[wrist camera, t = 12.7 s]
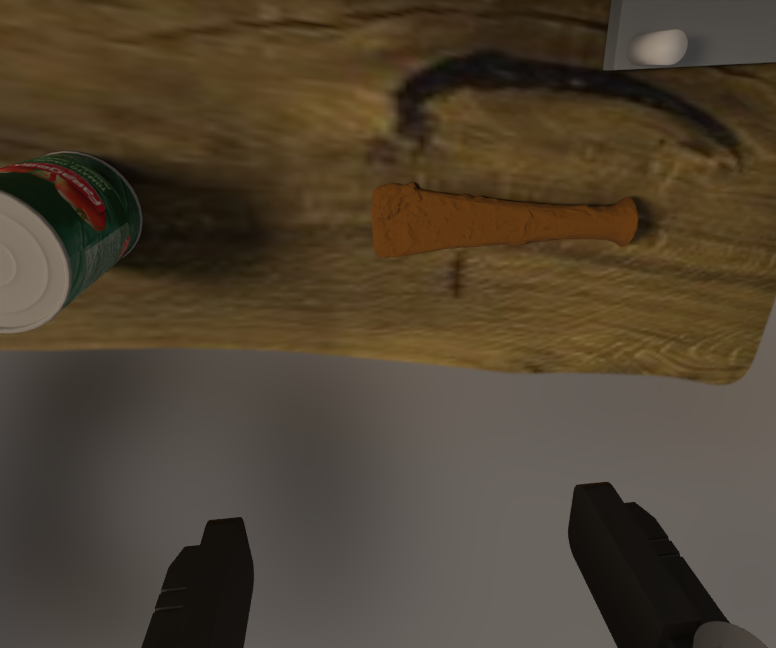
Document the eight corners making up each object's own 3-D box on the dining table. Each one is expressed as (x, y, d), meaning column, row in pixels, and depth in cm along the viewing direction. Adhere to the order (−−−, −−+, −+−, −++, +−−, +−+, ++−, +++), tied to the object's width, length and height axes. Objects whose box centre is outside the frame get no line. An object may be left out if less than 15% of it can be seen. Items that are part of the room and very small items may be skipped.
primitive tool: (374, 256, 39) (377, 271, 36) (369, 182, 37) (373, 191, 34) (619, 239, 41) (643, 253, 37) (630, 167, 38) (656, 174, 35)
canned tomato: (131, 151, 34) (48, 183, 25) (152, 264, 38) (86, 332, 28) (3, 150, 34) (-135, 182, 24) (37, 265, 37) (-72, 336, 27)
